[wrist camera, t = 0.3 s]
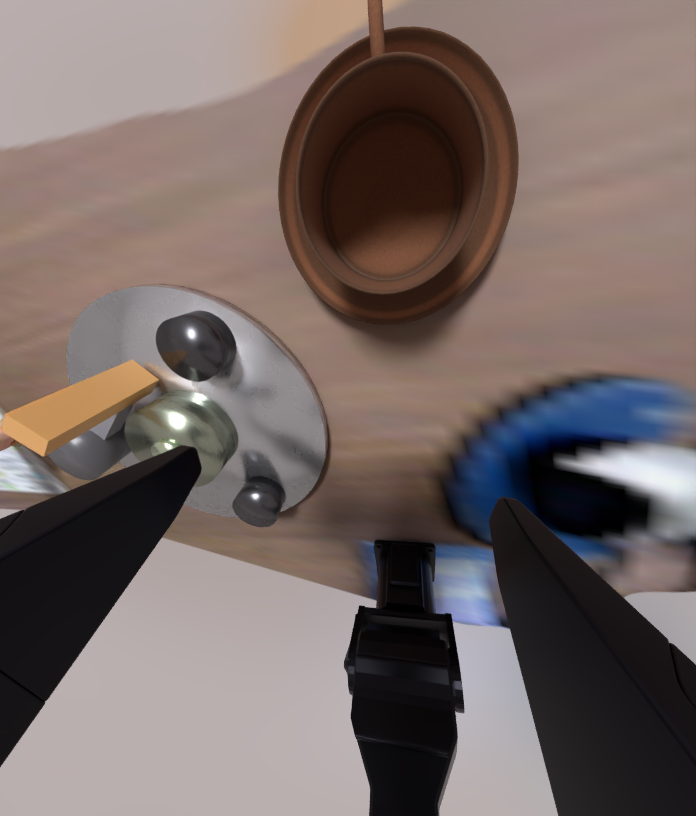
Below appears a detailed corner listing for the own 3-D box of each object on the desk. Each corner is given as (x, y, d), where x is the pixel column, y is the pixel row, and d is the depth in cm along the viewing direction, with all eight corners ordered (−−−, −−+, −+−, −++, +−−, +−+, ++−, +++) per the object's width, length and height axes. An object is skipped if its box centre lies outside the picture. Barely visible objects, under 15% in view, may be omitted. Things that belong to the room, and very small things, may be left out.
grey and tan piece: (129, 459, 29) (38, 530, 21) (84, 429, 27) (-27, 495, 20) (172, 389, 23) (68, 454, 16) (118, 349, 22) (-19, 399, 15)
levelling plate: (344, 514, 30) (335, 559, 25) (156, 504, 35) (122, 541, 30) (296, 263, 18) (264, 269, 14) (23, 302, 23) (-63, 315, 19)
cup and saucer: (250, 161, 16) (177, 119, 11) (464, -28, 12) (519, -256, 6) (348, 346, 20) (331, 380, 15) (528, 259, 16) (590, 266, 11)
